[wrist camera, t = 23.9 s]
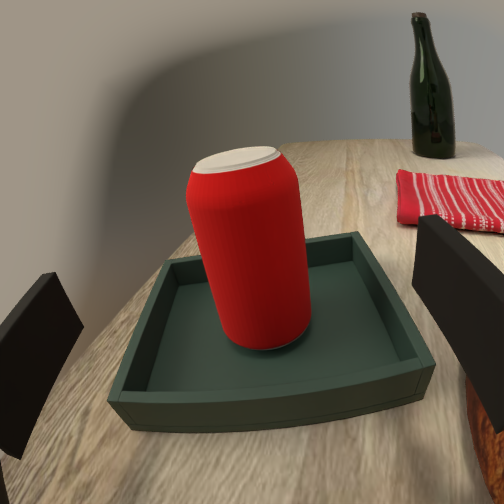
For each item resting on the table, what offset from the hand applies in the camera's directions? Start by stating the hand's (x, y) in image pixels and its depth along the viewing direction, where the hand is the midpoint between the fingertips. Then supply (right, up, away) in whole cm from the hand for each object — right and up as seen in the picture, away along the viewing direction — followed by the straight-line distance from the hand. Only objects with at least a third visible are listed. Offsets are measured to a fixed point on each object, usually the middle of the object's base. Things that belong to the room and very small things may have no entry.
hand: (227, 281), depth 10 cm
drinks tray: (+2, -5, +12) cm, 13 cm away
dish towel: (+31, +7, +24) cm, 39 cm away
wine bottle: (+42, +23, +49) cm, 68 cm away
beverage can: (+2, -5, +12) cm, 13 cm away
